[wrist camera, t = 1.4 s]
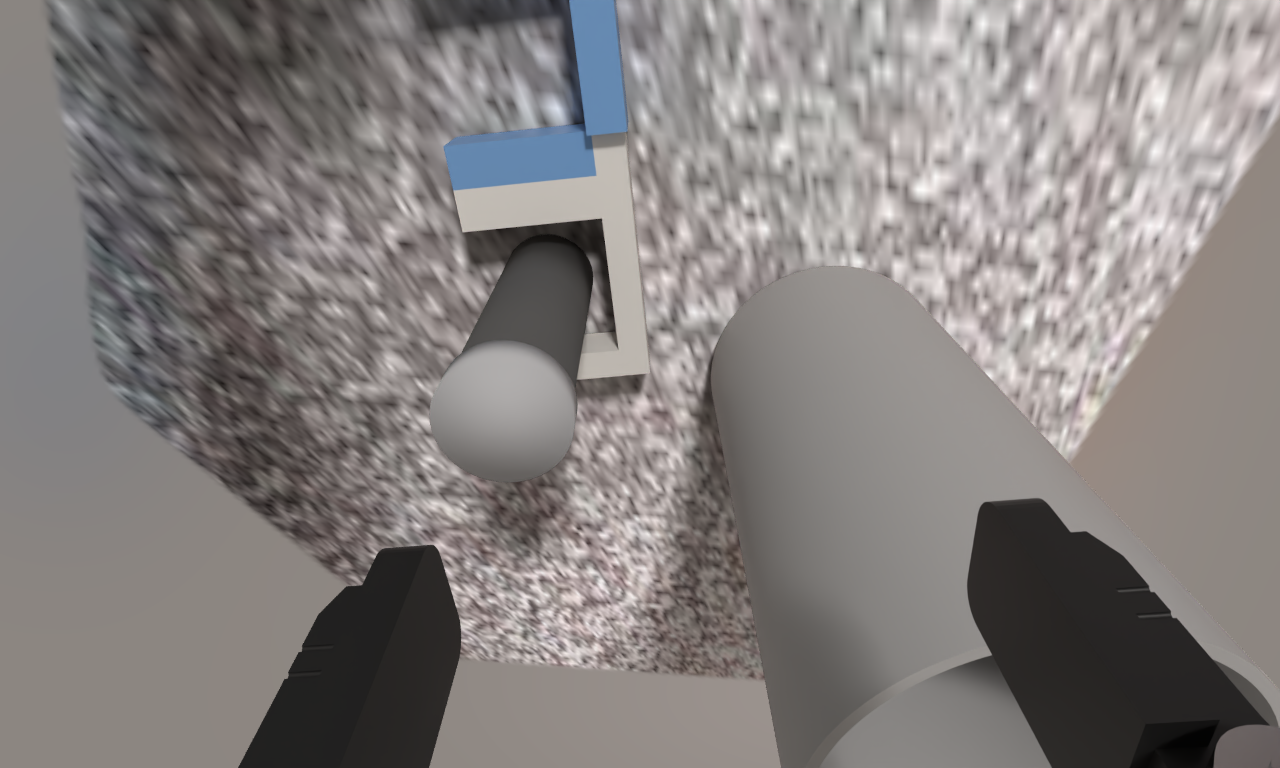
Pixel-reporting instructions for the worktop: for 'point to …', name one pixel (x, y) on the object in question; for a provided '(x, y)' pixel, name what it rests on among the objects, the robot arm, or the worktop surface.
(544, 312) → the grey capped cylinder
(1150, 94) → the worktop surface
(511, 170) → the blue grey comb bracket
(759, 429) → the cylinder vase
